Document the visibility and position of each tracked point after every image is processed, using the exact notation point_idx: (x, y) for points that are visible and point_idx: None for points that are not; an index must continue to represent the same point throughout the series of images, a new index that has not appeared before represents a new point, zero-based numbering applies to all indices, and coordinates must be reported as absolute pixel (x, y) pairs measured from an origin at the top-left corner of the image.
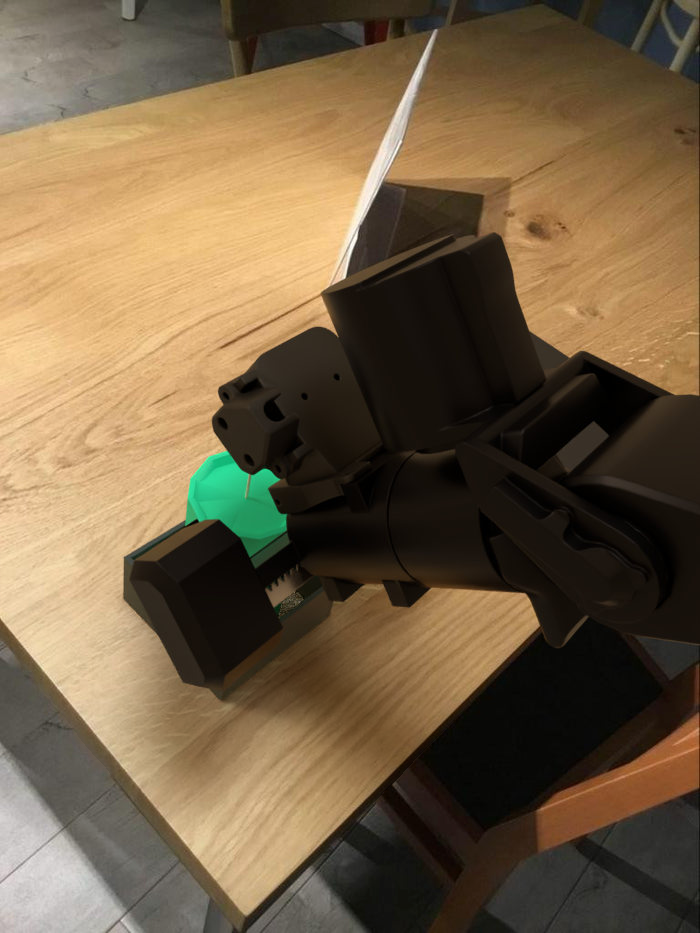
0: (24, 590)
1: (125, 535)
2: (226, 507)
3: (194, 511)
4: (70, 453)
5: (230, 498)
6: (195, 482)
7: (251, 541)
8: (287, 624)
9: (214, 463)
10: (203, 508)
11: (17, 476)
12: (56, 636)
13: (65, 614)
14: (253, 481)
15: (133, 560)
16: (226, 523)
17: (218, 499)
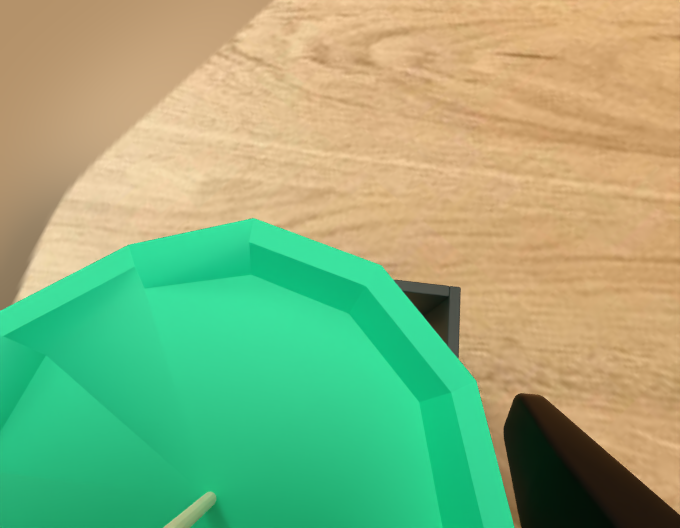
0: (108, 177)
1: (283, 203)
2: (91, 475)
3: None
4: (339, 47)
5: (155, 445)
6: (120, 274)
7: None
8: None
9: (251, 259)
10: (24, 400)
11: (255, 33)
12: (71, 266)
13: (110, 246)
14: (316, 448)
15: None
16: None
17: (114, 409)
